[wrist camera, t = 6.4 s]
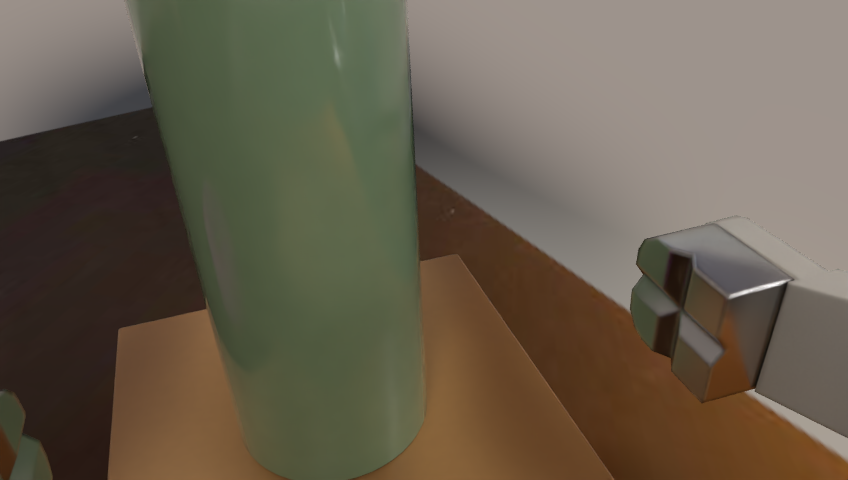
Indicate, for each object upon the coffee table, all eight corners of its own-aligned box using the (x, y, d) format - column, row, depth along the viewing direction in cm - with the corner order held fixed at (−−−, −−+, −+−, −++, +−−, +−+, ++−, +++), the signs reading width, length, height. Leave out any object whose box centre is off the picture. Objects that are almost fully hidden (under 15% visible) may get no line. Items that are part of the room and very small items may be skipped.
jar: (399, 325, 20) (359, -196, 13) (460, 451, 16) (450, -204, 9) (226, 367, 19) (81, -184, 12) (246, 515, 15) (44, -187, 8)
